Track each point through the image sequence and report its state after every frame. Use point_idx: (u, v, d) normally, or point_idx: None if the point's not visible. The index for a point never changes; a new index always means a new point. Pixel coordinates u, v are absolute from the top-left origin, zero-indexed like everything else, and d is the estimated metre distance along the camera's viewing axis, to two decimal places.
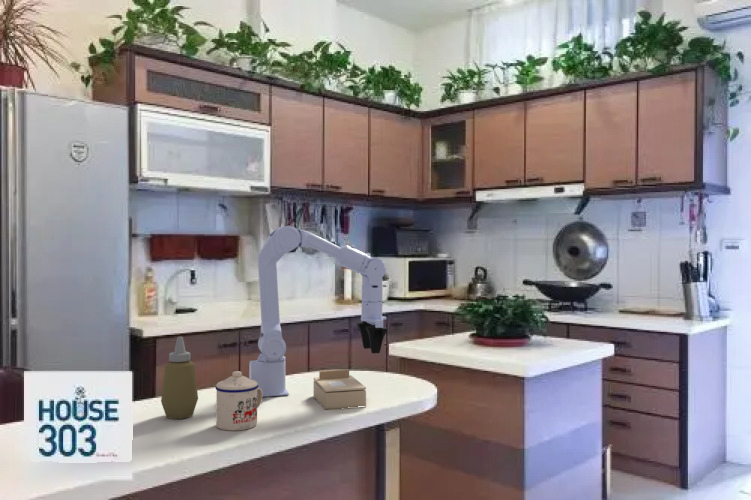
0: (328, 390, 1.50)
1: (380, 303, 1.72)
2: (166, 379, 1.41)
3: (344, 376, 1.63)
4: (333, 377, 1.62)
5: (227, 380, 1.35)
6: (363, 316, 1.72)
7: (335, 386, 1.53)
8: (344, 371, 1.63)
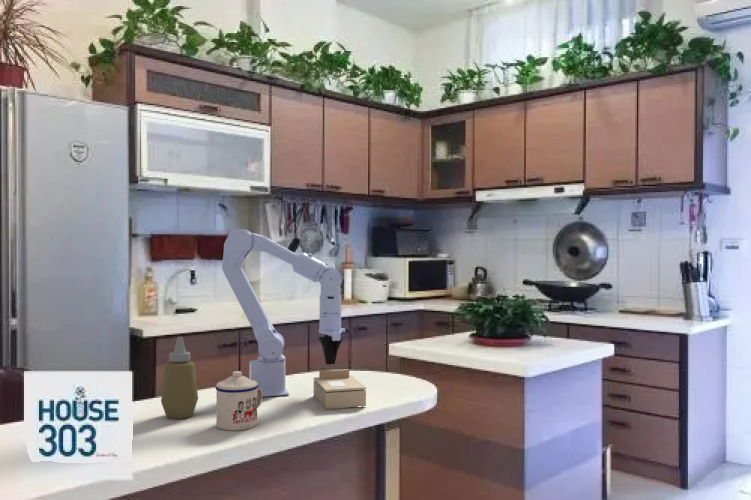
0: (328, 390, 1.50)
1: (338, 315, 1.66)
2: (166, 379, 1.41)
3: (344, 376, 1.63)
4: (333, 377, 1.62)
5: (227, 380, 1.35)
6: (321, 328, 1.66)
7: (335, 386, 1.53)
8: (344, 371, 1.63)
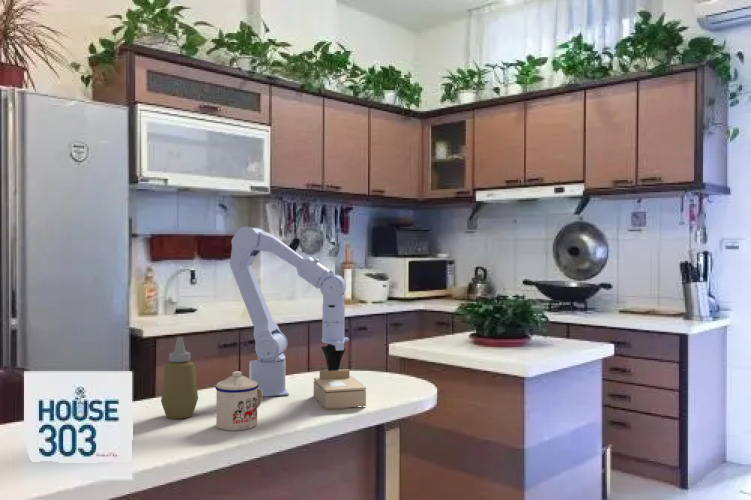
0: (328, 390, 1.50)
1: (342, 324, 1.62)
2: (166, 379, 1.41)
3: (344, 376, 1.63)
4: (333, 377, 1.62)
5: (227, 380, 1.35)
6: (324, 337, 1.62)
7: (335, 386, 1.53)
8: (344, 371, 1.63)
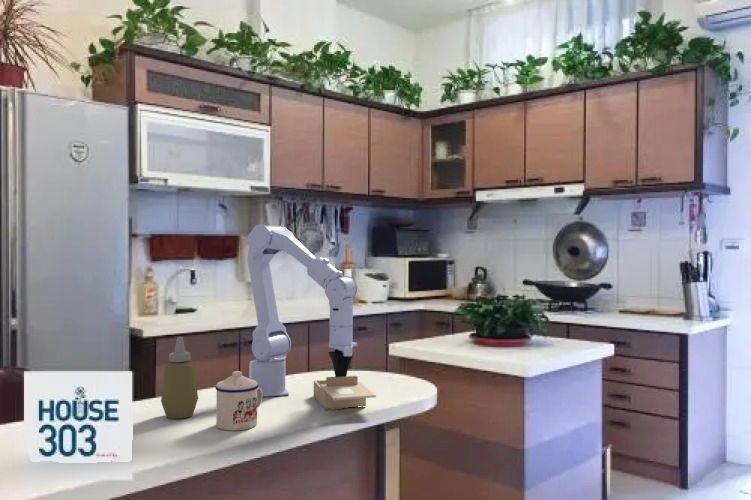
0: (336, 398, 1.42)
1: (350, 328, 1.55)
2: (166, 379, 1.41)
3: (352, 383, 1.55)
4: (341, 384, 1.54)
5: (227, 380, 1.35)
6: (331, 342, 1.54)
7: (343, 394, 1.45)
8: (352, 378, 1.55)
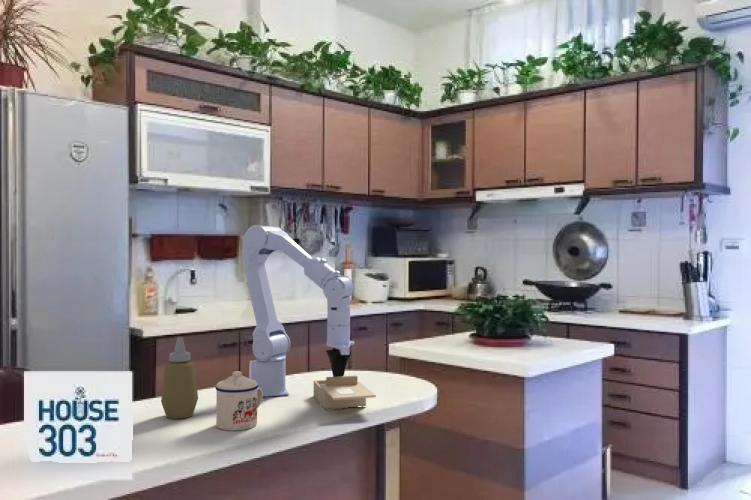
0: (336, 398, 1.42)
1: (347, 327, 1.57)
2: (166, 379, 1.41)
3: (352, 383, 1.55)
4: (341, 384, 1.54)
5: (227, 380, 1.35)
6: (328, 341, 1.57)
7: (343, 394, 1.46)
8: (352, 377, 1.55)
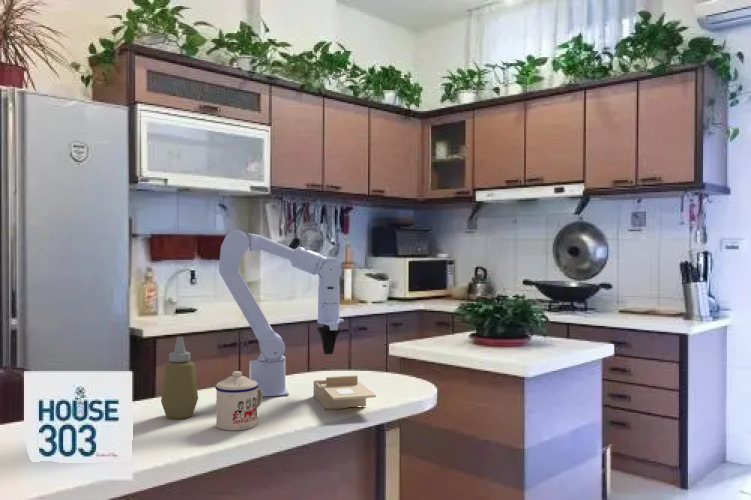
0: (336, 398, 1.42)
1: (336, 305, 1.68)
2: (166, 379, 1.41)
3: (352, 383, 1.55)
4: (341, 384, 1.54)
5: (227, 380, 1.35)
6: (319, 318, 1.68)
7: (343, 394, 1.46)
8: (352, 377, 1.55)
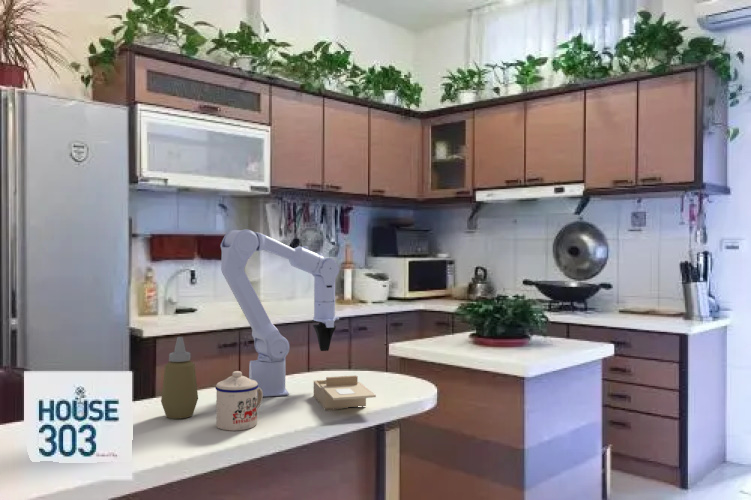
0: (336, 398, 1.42)
1: (332, 303, 1.72)
2: (166, 379, 1.41)
3: (352, 383, 1.55)
4: (341, 384, 1.54)
5: (227, 380, 1.35)
6: (315, 316, 1.72)
7: (343, 394, 1.46)
8: (352, 377, 1.55)
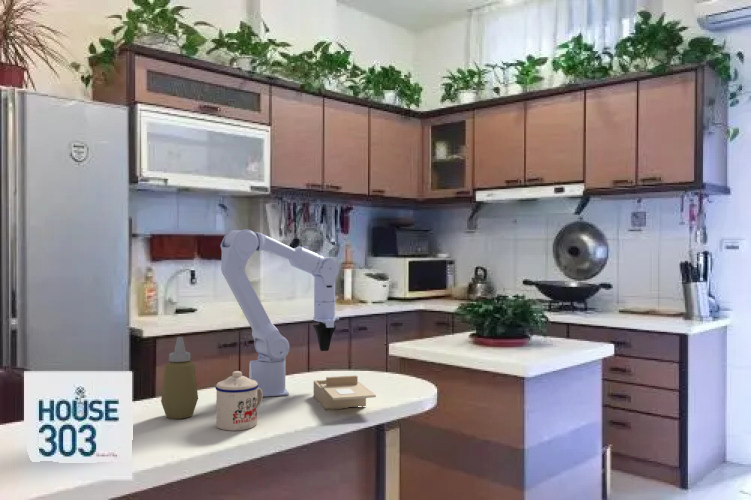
0: (336, 398, 1.42)
1: (332, 303, 1.72)
2: (166, 379, 1.41)
3: (352, 383, 1.55)
4: (341, 384, 1.54)
5: (227, 380, 1.35)
6: (315, 316, 1.72)
7: (343, 394, 1.46)
8: (352, 377, 1.55)
